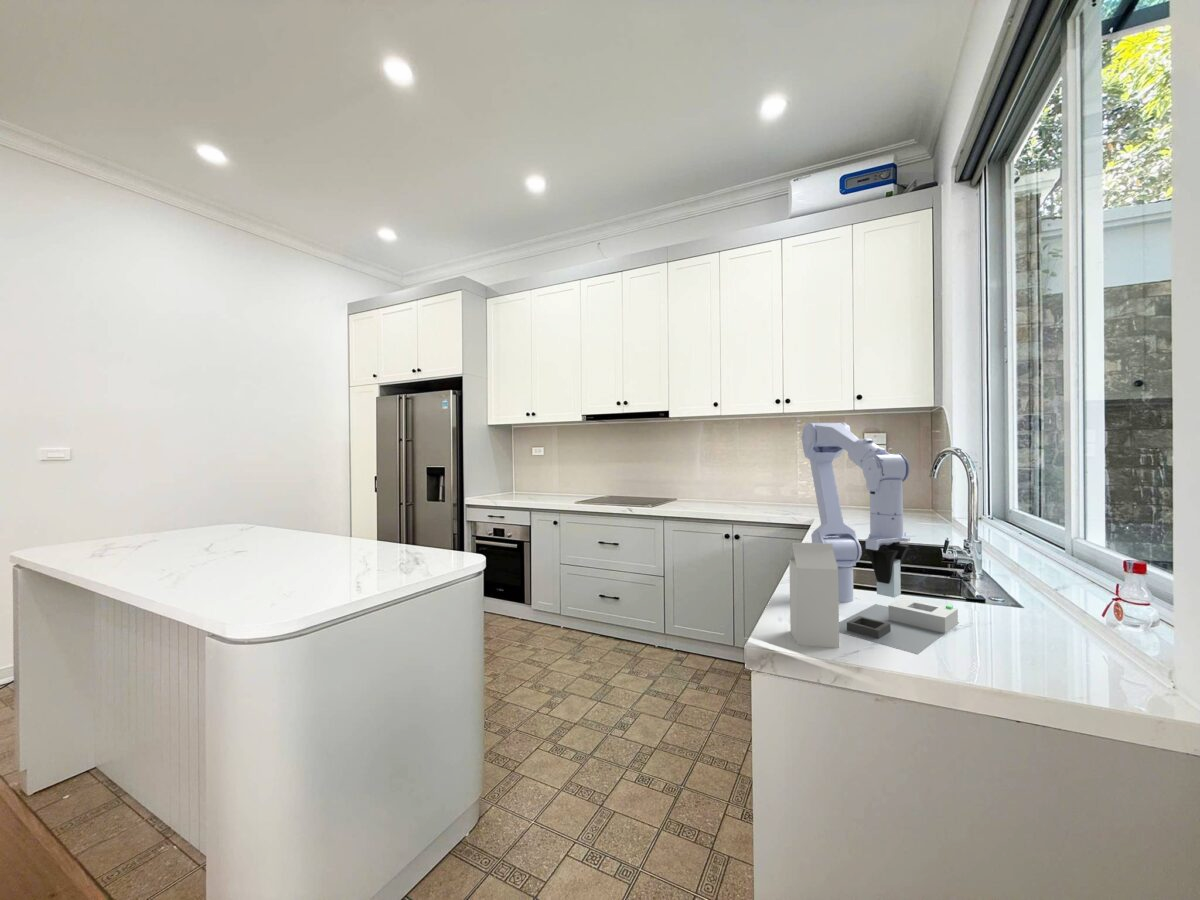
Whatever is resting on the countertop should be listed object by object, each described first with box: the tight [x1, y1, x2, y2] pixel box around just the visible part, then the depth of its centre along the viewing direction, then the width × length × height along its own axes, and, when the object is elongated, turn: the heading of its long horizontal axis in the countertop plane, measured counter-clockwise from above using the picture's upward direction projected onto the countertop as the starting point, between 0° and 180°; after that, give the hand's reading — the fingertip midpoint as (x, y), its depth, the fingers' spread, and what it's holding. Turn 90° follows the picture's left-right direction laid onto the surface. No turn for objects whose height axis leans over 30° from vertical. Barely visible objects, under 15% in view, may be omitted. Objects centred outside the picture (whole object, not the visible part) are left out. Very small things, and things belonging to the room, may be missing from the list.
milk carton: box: [788, 542, 840, 649], centre depth 90 cm, size 7×7×19 cm
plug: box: [876, 559, 902, 599], centre depth 95 cm, size 3×3×7 cm
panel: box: [839, 597, 960, 655], centre depth 96 cm, size 16×24×4 cm, turn 129°
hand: (887, 580), depth 95 cm, fingers closed on plug, 3 cm apart
